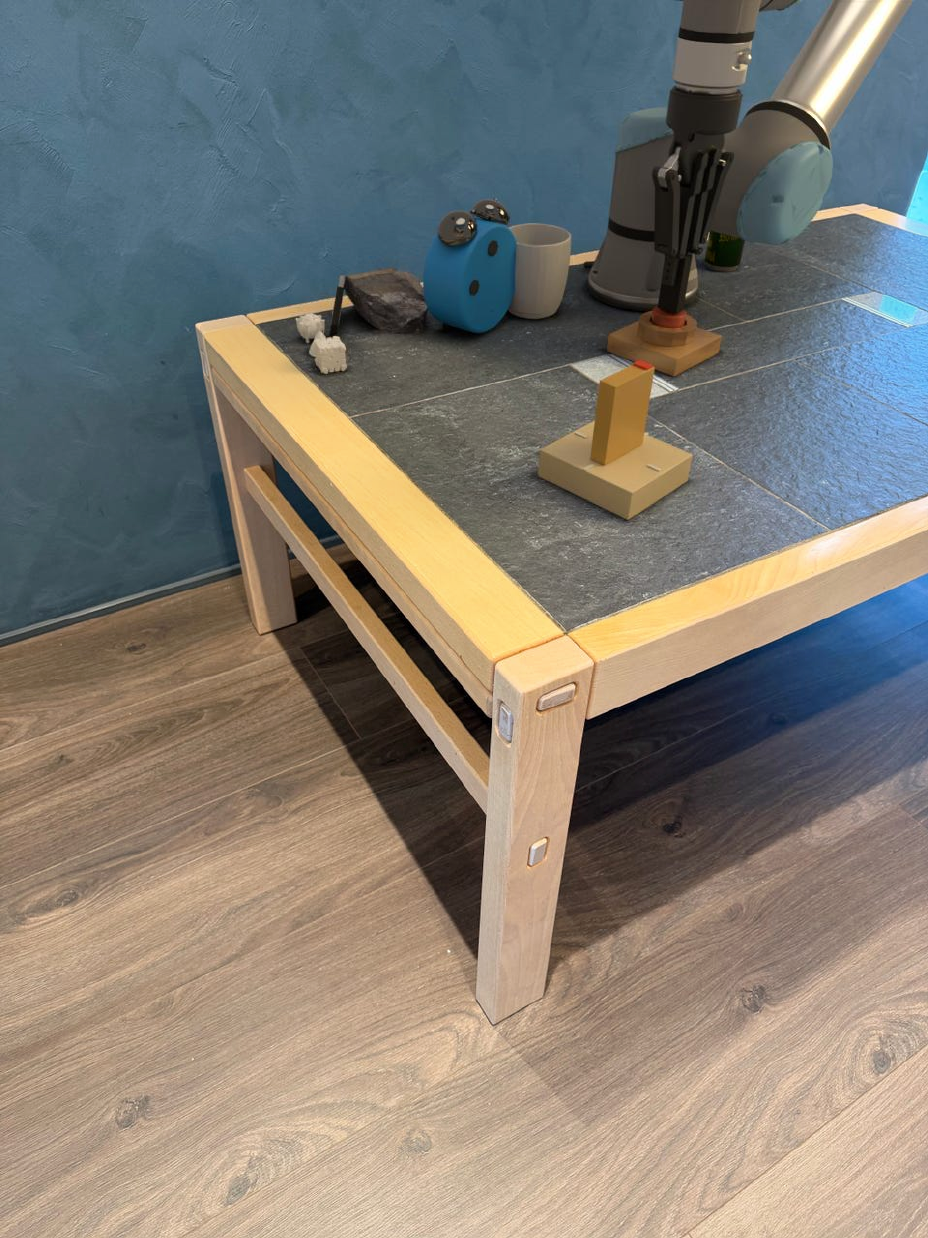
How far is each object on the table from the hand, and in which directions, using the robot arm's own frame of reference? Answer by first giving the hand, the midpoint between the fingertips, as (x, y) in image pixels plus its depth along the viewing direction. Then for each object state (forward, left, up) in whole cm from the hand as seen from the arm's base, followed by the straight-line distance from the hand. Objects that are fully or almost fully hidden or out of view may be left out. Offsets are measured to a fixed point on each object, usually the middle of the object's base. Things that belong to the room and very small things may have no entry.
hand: (670, 308), depth 109 cm
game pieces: (-29, -31, -6) cm, 43 cm away
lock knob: (+14, -29, -2) cm, 32 cm away
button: (0, 0, -2) cm, 2 cm away
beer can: (-12, +33, -6) cm, 35 cm away
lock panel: (+14, -29, -5) cm, 33 cm away
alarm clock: (-22, -12, -6) cm, 25 cm away
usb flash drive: (-34, -24, -4) cm, 41 cm away
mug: (-22, -2, -6) cm, 23 cm away
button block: (0, 0, -5) cm, 5 cm away
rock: (-29, -15, -6) cm, 34 cm away
